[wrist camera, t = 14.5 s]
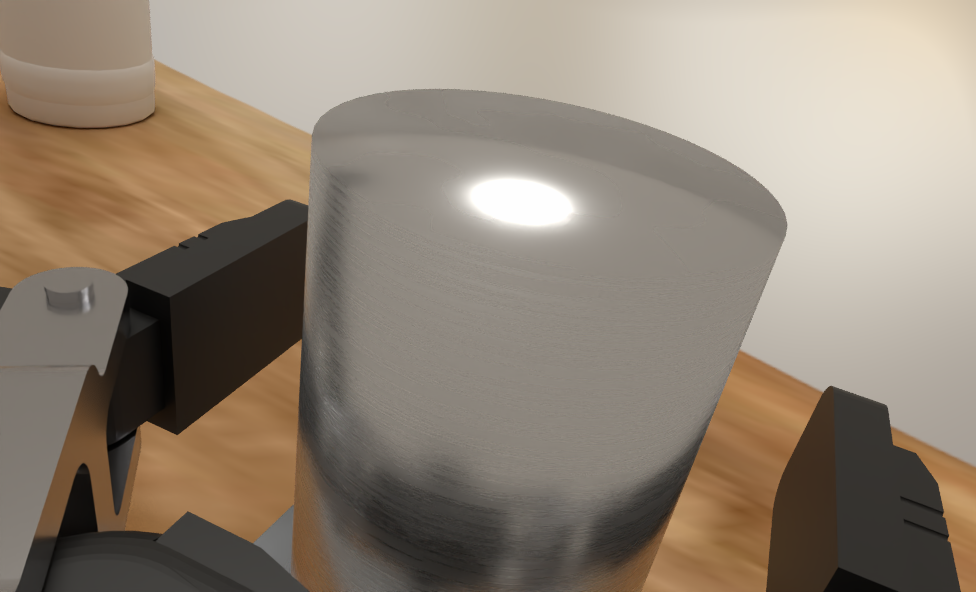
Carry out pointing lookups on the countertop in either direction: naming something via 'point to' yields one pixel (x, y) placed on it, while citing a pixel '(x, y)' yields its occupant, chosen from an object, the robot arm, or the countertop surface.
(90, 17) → the bottle
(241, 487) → the countertop surface
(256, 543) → the base plate
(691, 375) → the flanged metal cylinder
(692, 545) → the countertop surface
